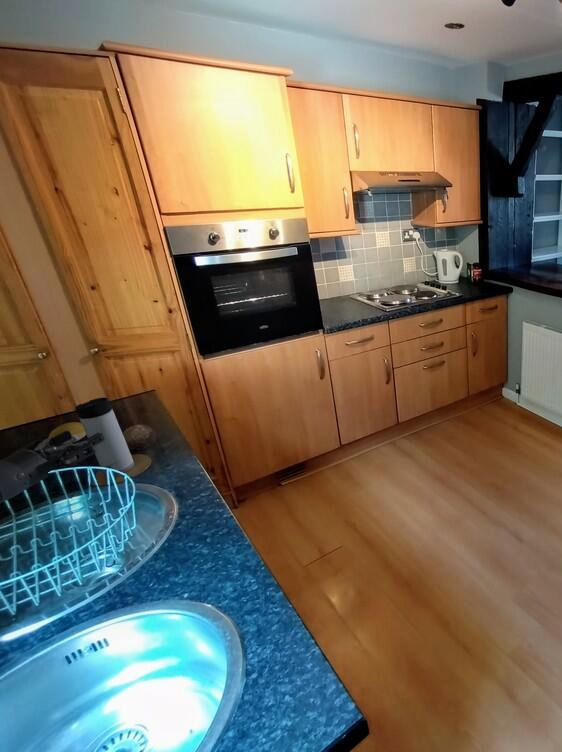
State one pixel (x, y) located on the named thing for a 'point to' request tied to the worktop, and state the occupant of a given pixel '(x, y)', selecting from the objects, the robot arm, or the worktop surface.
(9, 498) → the robot arm
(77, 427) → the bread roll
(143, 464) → the cork coaster
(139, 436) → the mushroom
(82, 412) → the travel mug
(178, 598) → the worktop surface
